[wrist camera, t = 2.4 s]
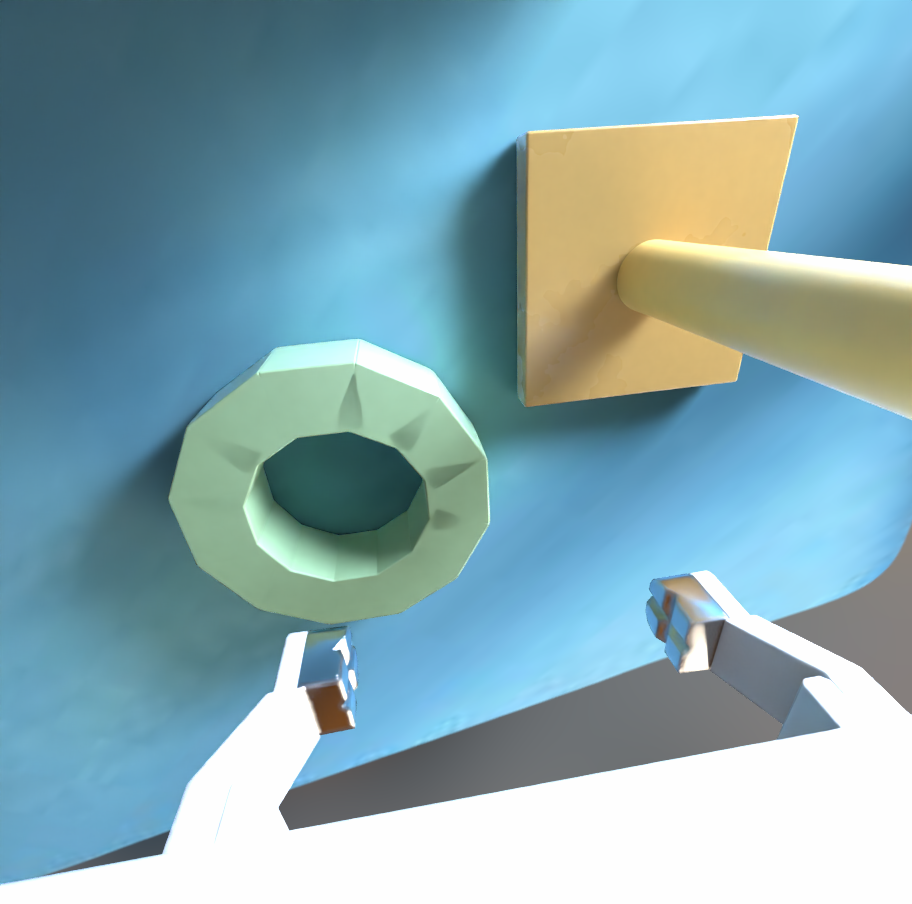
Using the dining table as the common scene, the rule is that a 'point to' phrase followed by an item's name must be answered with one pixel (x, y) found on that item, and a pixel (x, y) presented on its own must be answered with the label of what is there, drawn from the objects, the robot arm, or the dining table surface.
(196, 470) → the ring
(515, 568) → the dining table surface
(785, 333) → the stand
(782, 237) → the dining table surface
